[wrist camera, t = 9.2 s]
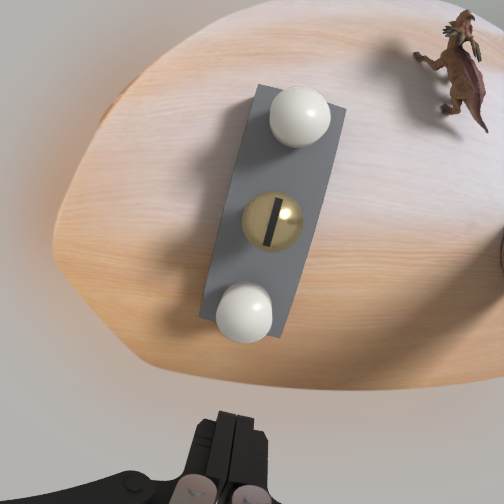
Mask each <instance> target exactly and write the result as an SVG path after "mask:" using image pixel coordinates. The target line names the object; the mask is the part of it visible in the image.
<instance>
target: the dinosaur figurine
mask: <svg viewBox="0 0 504 504" xmlns="http://www.w3.org/2000/svg"><path fill="white" fill-rule="evenodd" d="M472 19H473V20H474V21H475V17H474V16H473V15H471V12H470V11H469V10H465V11H463V12H461V13H460V15H459V16H458V17H457V19H456V21H452V22H449V23H450V25H452V27H451V26H445V27H446V29H443V31H445V32H443V34H447V33H449V34H447V35H445V37H449V42H448V46H447V50H445V51H443V52H442V53H441V57H440V59H438V60H436V61H433V60H431V59H429V58H428V57H427V56H422V55H421V54H420V53H419V52H417V53H416V52H414V54H415V55H413V56H414V57H415V58H416V59H417V61H420V62H422V61H425V62H427V63H428V64H429V65H430V67H431V68H432V69H433V70H435V71H437V70H439V69H440V68H442V67H444V66H445V67H446V68H447V70H448V75H449V79H450V81H451V83H452V87H451V89H450V96H451V101H452V104H453V108H452V107H450V106H448V105H447V104H444V106H441V108H442V109H443V110H442V114H447V115H454V114H459V113H460V112H461V109H460V106H461V104H462V101H464V103H465V104H466V106H467V108H468V109H469V111H470V113H471V115H472V116H473V118H474V119H475V120H476V121H477V122H478V124H479V125H480V126H481V127H482V128H484V130H485V131H486V133H488V129H487V128H486V125H485V123H484V122H483V120H482V118H481V115H480V109H481V108H480V107H481V104H482V102H483V98H484V96H485V94H486V91H485V87H484V83H483V76H482V74H481V72H480V71H479V70H478V68H477V66H476V64H475V62H474V61H473V60H472V59H471V56H470V54H469V53H468V52H466V51H465V50H464V49H463V46H462V44H463V43H464V42H466V41H470V42H471V46H472V50H473V54H474V56H475V57H476V55H477V60H478V62H480V61H481V53H480V49H479V45H478V43H477V42H475V41H474V39H473V36H472V34H471V33H472V28H473V27H472V25H471V20H472Z"/></svg>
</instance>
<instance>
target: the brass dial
mask: <svg viewBox="0 0 504 504" xmlns="http://www.w3.org/2000/svg"><path fill="white" fill-rule="evenodd" d="M242 228H243V231H244V234H245V236H246V238H247V239H248V241H249V242H250V243H251V244H252V245H253V246H255V247H256V248H258V249H260V250H263V251H266V252H279V251H283V250H285V249H287V248H289V247H291V246H292V245H293V244H294V243H295V242H296V241H297V240H298V238H299V237H300V235H301V232H302V229H303V214H302V211H301V209H300V207H299V205H298V204H297V202H296V201H295V200H294V199H293V198H292V197H290V196H289V195H287V194H285V193H282V192H278V191H266V192H263V193H260V194H258V195H257V196H255V197H254V198H253V199H251V200H250V201H249V203H248V204H247V206H246V207H245V209H244V212H243V216H242Z"/></svg>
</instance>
